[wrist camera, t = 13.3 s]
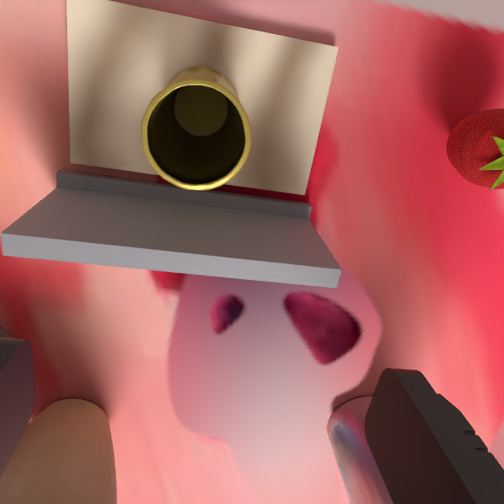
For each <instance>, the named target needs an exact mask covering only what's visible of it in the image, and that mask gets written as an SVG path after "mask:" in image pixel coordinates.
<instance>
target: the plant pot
mask: <svg viewBox="0 0 504 504" xmlns="http://www.w3.org/2000/svg"><path fill="white" fill-rule="evenodd" d="M0 504H117V488H116V471H115V460H114V451H113V443H112V437H111V432H110V426H109V422H108V418H107V415H106V414H105V412H104V411H103V410H102V409H101V408H100V407H99V406H97V405H96V404H94V403H91V402H89V401H86V400H81V399H63V400H60V401H57V402H54V403H52V404H51V405H49V406H48V407H47V408H46V409H44V410H43V411H42V412H41V413H40V414H39V415H38V416H37V417H35V418H34V419H33V420H32V421H31V422H30V423H29V424H28V425H27V427H26V429H25V431H24V433H23V435H22V437H21V439H20V441H19V443H18V444H17V446H16V448H15V450H14V452H13V454H12V456H11V458H10V460H9V462H8V463H7V465H6V467H5V469H4V471H3V473H2V475H1V477H0Z"/></svg>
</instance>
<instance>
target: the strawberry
mask: <svg viewBox="0 0 504 504" xmlns="http://www.w3.org/2000/svg"><path fill="white" fill-rule="evenodd" d="M447 154H448V158H449V160H450V162H451V164H452V165H453V166H454V167H455V168H456V170H457V171H458V172H459V173H460V174H461V175H462V176H463V177H464V178H465V179H466V180H468V181H469V182H471V183H473V184H475V185H479V186H483V187H488V188H490V189H489V190H491V189H504V109H492V110H487V111H483V112H478V113H475V114H471V115H469V116H467V117H465V118H464V119H462V120H461V121H459V122H458V123H457V124H456V125H455V127H454V128H453V129H452V131H451V132H450V135H449V137H448V140H447Z"/></svg>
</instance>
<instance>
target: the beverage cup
mask: <svg viewBox="0 0 504 504" xmlns="http://www.w3.org/2000/svg"><path fill="white" fill-rule="evenodd" d="M0 337H3V338H11V336H10V335H9V334H8V333H7V332H6V331H5V330H4V329H2V328H0Z"/></svg>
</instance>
